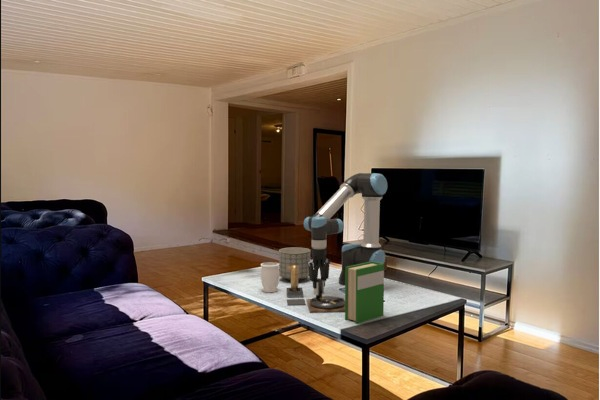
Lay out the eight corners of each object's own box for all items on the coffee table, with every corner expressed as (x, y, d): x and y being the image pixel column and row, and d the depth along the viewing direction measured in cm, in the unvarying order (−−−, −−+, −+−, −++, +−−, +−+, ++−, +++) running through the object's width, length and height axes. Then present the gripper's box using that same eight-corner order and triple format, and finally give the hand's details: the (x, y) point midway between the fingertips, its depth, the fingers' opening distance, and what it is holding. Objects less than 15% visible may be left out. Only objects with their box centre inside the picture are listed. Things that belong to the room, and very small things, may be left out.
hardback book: (357, 323, 194) (357, 269, 192) (345, 319, 200) (345, 266, 198) (383, 315, 205) (384, 263, 204) (371, 311, 211) (371, 261, 209)
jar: (276, 293, 241) (276, 266, 240) (258, 292, 243) (258, 265, 242) (281, 288, 251) (281, 262, 250) (263, 287, 253) (263, 261, 252)
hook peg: (298, 294, 240) (298, 264, 239) (298, 296, 236) (298, 266, 235) (286, 294, 240) (286, 265, 238) (286, 296, 236) (286, 266, 235)
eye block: (301, 292, 242) (301, 287, 242) (303, 297, 234) (303, 291, 234) (286, 293, 242) (286, 287, 242) (287, 297, 233) (287, 292, 233)
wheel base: (343, 300, 229) (343, 298, 229) (350, 311, 210) (350, 309, 210) (306, 300, 228) (306, 298, 228) (309, 312, 209) (309, 310, 209)
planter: (308, 284, 260) (308, 253, 259) (276, 283, 263) (276, 252, 262) (312, 276, 279) (312, 247, 277) (282, 275, 282) (282, 247, 280)
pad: (304, 299, 230) (304, 298, 230) (305, 305, 221) (305, 304, 221) (286, 300, 229) (286, 299, 229) (287, 305, 220) (287, 304, 220)
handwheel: (351, 304, 217) (352, 283, 216) (323, 311, 207) (323, 288, 206) (330, 296, 231) (330, 276, 230) (303, 302, 221) (303, 280, 221)
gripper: (326, 245, 231) (326, 289, 232) (301, 248, 221) (301, 294, 223) (336, 247, 224) (336, 292, 226) (310, 250, 215) (310, 298, 217)
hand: (319, 293), depth 225 cm, fingers closed on handwheel, 3 cm apart
